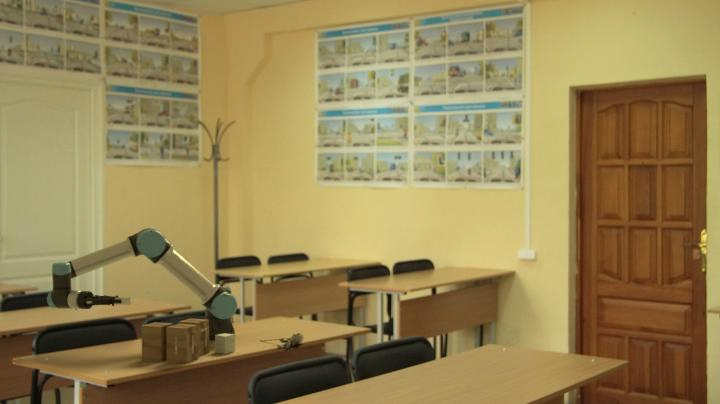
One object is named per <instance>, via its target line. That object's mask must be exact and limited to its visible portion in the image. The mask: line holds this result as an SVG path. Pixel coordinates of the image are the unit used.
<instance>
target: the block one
mask: <svg viewBox="0 0 720 404" xmlns="http://www.w3.org/2000/svg"><path fill="white" fill-rule="evenodd" d="M166 334H167V360H166V363H171V364H185V365H186V364H190V363H193V362H196V361H198V360H199V357H198V325H190V324H179V323H177V324H173V325H172V326H169V327H166Z"/></svg>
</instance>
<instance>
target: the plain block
mask: <svg viewBox="0 0 720 404" xmlns="http://www.w3.org/2000/svg"><path fill="white" fill-rule="evenodd" d="M172 325H174V323H172V322H171V323H169V322H156V321H155V322H151V323H146V324H142V325H141V361H142V362H143V361H144V362H145V361H148V362H158V363H162V362H165V361H167V334H166V327H169V326H172Z"/></svg>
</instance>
